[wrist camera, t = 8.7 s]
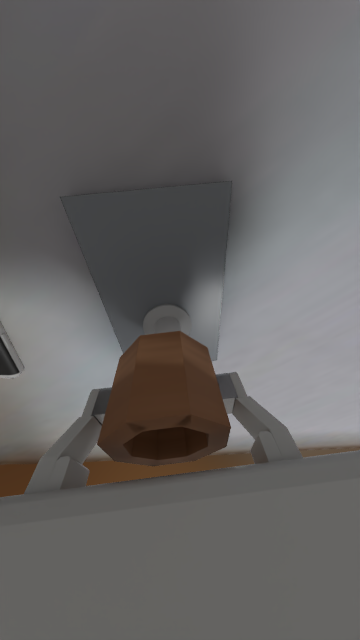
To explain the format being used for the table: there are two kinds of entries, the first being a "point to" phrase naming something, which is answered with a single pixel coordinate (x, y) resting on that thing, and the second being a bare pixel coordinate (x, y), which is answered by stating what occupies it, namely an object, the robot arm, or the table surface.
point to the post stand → (157, 257)
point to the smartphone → (8, 357)
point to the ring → (164, 403)
